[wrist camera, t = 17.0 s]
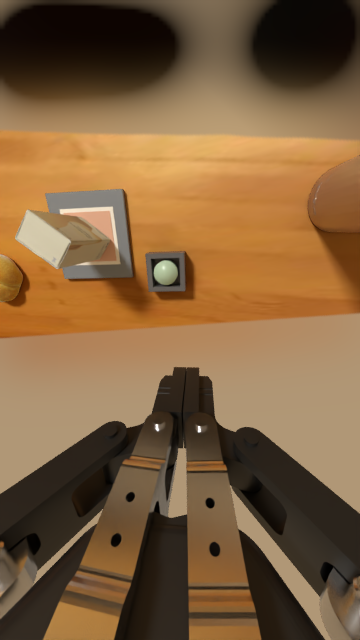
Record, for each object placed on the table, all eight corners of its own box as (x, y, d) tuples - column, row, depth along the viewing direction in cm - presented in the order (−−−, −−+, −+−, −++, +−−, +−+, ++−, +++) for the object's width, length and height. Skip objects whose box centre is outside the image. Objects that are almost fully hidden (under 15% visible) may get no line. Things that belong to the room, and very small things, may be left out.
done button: (177, 259, 38) (176, 260, 36) (178, 282, 39) (177, 284, 37) (154, 259, 38) (152, 261, 36) (156, 282, 40) (154, 285, 38)
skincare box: (112, 239, 38) (74, 242, 26) (100, 260, 39) (59, 271, 28) (79, 214, 37) (25, 207, 25) (68, 236, 38) (12, 239, 27)
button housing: (185, 251, 38) (184, 252, 36) (186, 287, 41) (185, 291, 38) (149, 252, 39) (145, 253, 36) (152, 287, 41) (148, 291, 39)
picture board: (123, 189, 36) (121, 188, 35) (133, 276, 41) (132, 277, 40) (48, 194, 37) (44, 193, 36) (67, 277, 42) (64, 278, 41)
